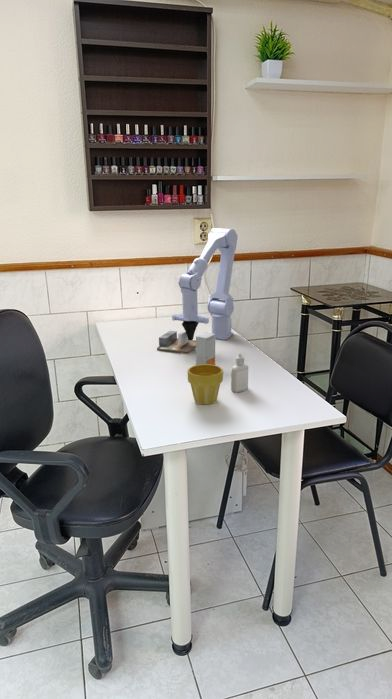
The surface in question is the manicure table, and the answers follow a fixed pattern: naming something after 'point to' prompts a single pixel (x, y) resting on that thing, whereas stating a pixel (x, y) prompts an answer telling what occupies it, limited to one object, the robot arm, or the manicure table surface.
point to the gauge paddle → (182, 339)
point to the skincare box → (205, 349)
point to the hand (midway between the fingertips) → (190, 339)
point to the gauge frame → (174, 343)
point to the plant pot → (205, 382)
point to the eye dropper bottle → (239, 375)
